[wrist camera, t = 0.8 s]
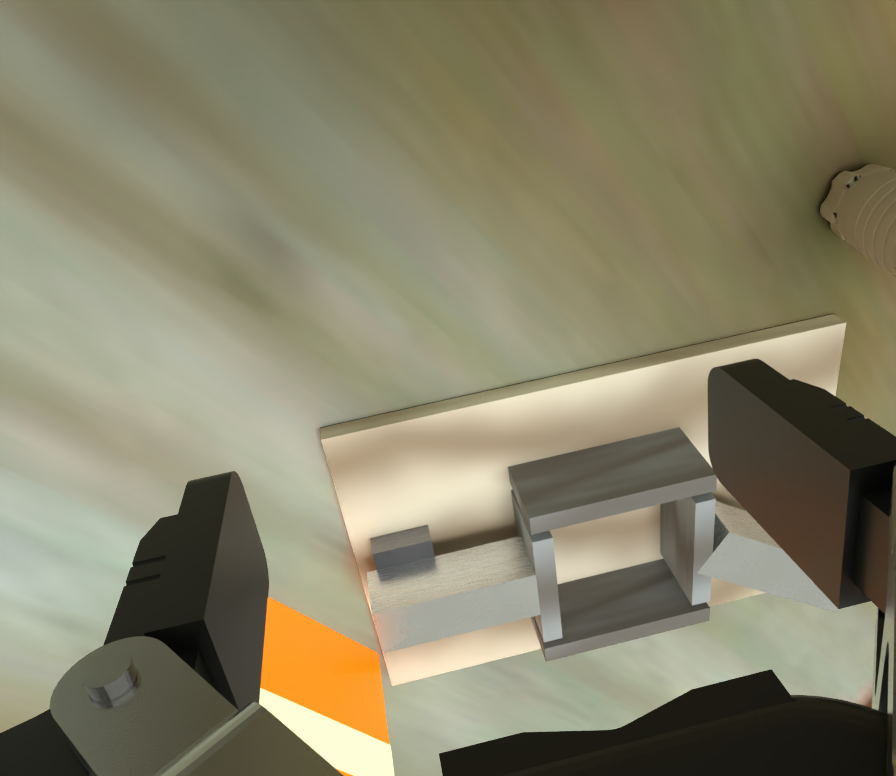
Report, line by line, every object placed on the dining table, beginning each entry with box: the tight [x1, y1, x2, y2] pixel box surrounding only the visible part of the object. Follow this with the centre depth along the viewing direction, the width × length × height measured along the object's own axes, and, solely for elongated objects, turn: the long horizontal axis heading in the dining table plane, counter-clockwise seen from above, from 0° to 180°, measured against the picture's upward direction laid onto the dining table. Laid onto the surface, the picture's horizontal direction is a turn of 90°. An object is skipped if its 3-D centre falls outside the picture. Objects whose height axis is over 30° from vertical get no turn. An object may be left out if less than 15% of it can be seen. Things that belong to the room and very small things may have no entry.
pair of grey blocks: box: [367, 501, 838, 653], centre depth 40 cm, size 10×26×4 cm, turn 98°
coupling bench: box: [320, 314, 846, 686], centre depth 39 cm, size 18×26×5 cm
